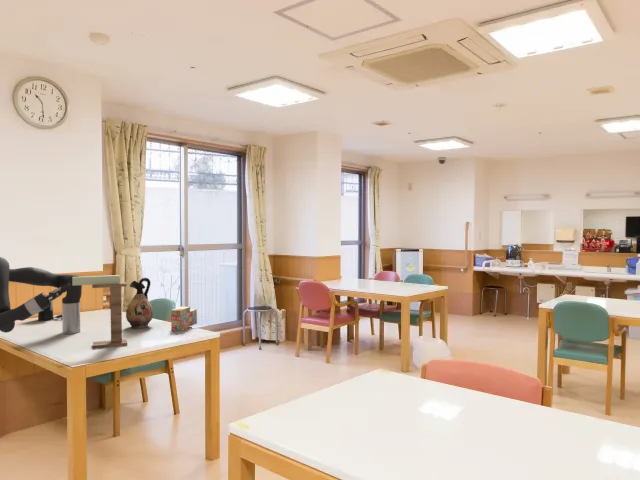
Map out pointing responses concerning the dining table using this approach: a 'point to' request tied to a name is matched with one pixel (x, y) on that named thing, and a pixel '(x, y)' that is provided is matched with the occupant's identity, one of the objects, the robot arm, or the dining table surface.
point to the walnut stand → (113, 317)
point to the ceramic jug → (139, 306)
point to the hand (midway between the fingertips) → (69, 285)
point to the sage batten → (96, 280)
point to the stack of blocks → (183, 318)
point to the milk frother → (47, 313)
